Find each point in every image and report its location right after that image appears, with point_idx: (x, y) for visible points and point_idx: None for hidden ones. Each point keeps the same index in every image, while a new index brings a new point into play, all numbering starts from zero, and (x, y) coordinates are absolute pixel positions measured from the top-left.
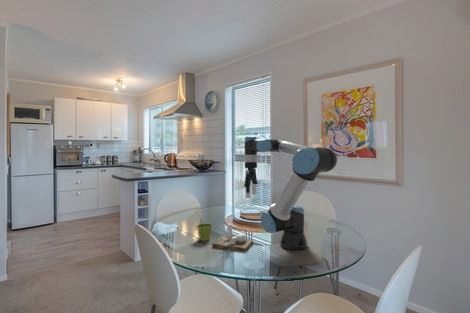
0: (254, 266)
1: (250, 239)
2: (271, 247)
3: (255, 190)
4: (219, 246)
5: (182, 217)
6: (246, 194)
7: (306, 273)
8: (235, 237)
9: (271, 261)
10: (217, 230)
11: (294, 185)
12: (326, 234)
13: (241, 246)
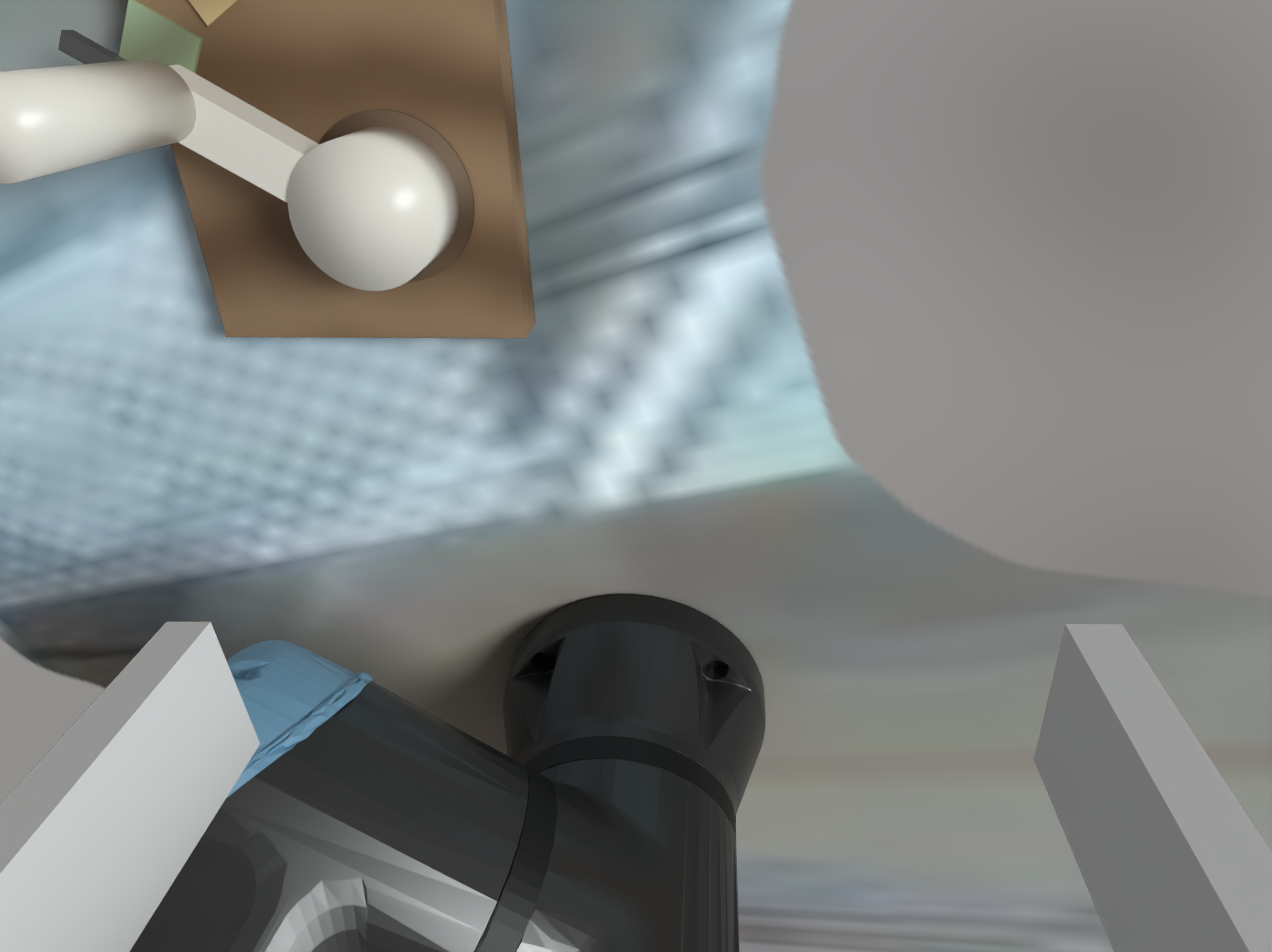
0: (29, 490)
1: (519, 303)
2: (498, 533)
3: (1099, 896)
4: None
5: None
6: (88, 741)
7: None
8: (253, 170)
9: (202, 586)
10: None
11: None
12: (1045, 898)
13: (241, 275)
